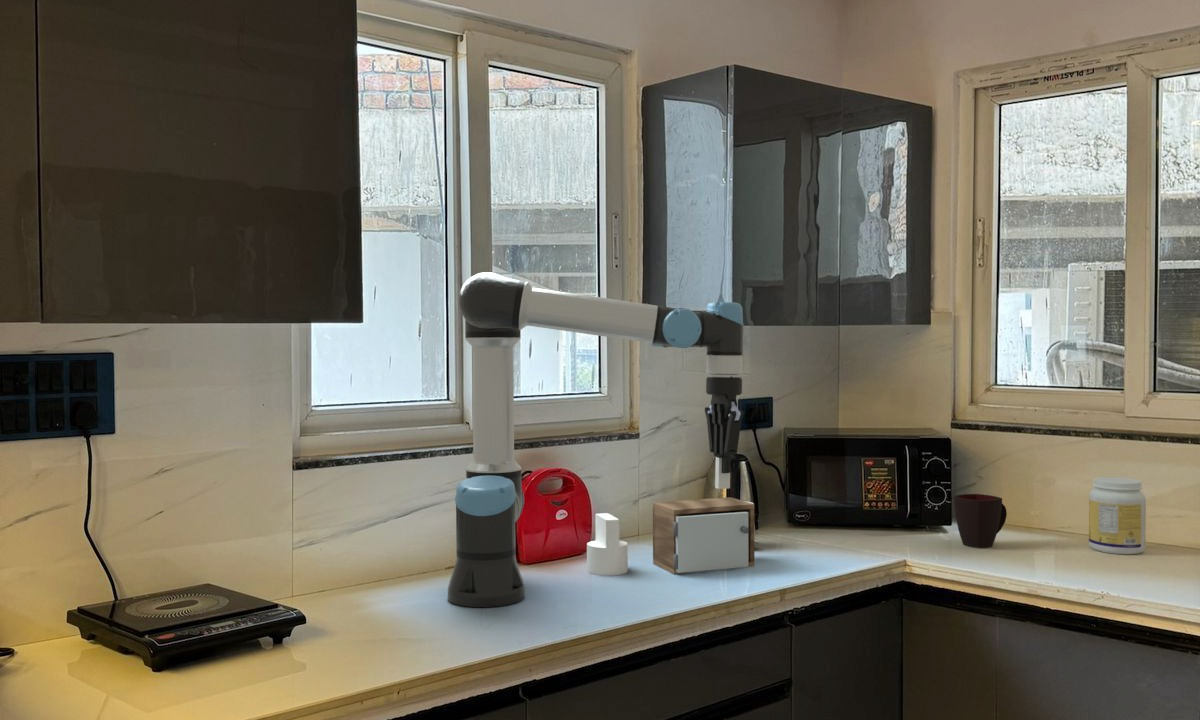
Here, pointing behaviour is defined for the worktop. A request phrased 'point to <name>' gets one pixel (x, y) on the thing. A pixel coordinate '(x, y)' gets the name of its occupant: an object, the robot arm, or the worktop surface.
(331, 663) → the worktop surface
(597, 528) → the base with upright slab
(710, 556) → the door
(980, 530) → the mug
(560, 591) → the worktop surface
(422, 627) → the worktop surface
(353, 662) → the worktop surface
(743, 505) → the cabinet
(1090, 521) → the supplement tub
